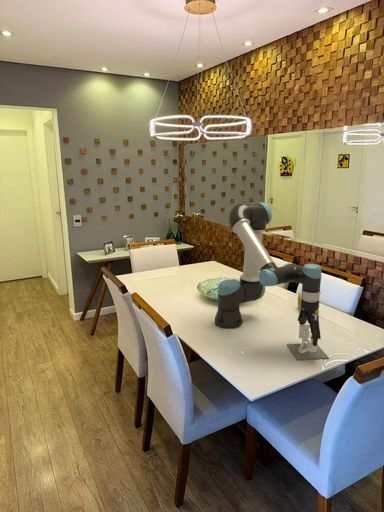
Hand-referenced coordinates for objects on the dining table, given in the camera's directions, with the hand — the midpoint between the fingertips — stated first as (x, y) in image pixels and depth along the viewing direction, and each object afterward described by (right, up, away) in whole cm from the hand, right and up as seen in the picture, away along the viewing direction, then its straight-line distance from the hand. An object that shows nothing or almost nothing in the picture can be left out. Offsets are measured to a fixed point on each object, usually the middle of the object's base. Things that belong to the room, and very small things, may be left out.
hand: (307, 344), depth 159 cm
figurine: (0, -3, +1) cm, 3 cm away
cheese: (+16, +7, +49) cm, 52 cm away
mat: (0, -3, +1) cm, 4 cm away
